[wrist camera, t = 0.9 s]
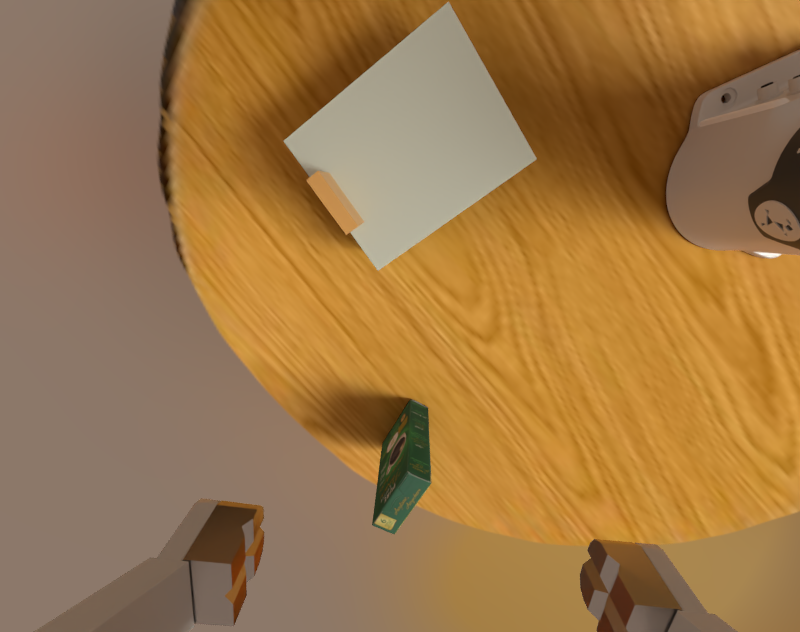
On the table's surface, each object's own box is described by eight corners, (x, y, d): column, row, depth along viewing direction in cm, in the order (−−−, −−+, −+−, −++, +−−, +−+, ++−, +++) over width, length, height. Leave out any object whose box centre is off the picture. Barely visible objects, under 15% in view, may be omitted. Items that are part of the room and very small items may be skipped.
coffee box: (399, 453, 51) (394, 538, 38) (380, 444, 51) (369, 527, 38) (429, 407, 49) (435, 482, 36) (409, 397, 48) (408, 469, 36)
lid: (446, 12, 30) (453, -28, 25) (530, 160, 33) (553, 154, 28) (289, 143, 34) (265, 134, 28) (379, 266, 37) (373, 280, 31)
